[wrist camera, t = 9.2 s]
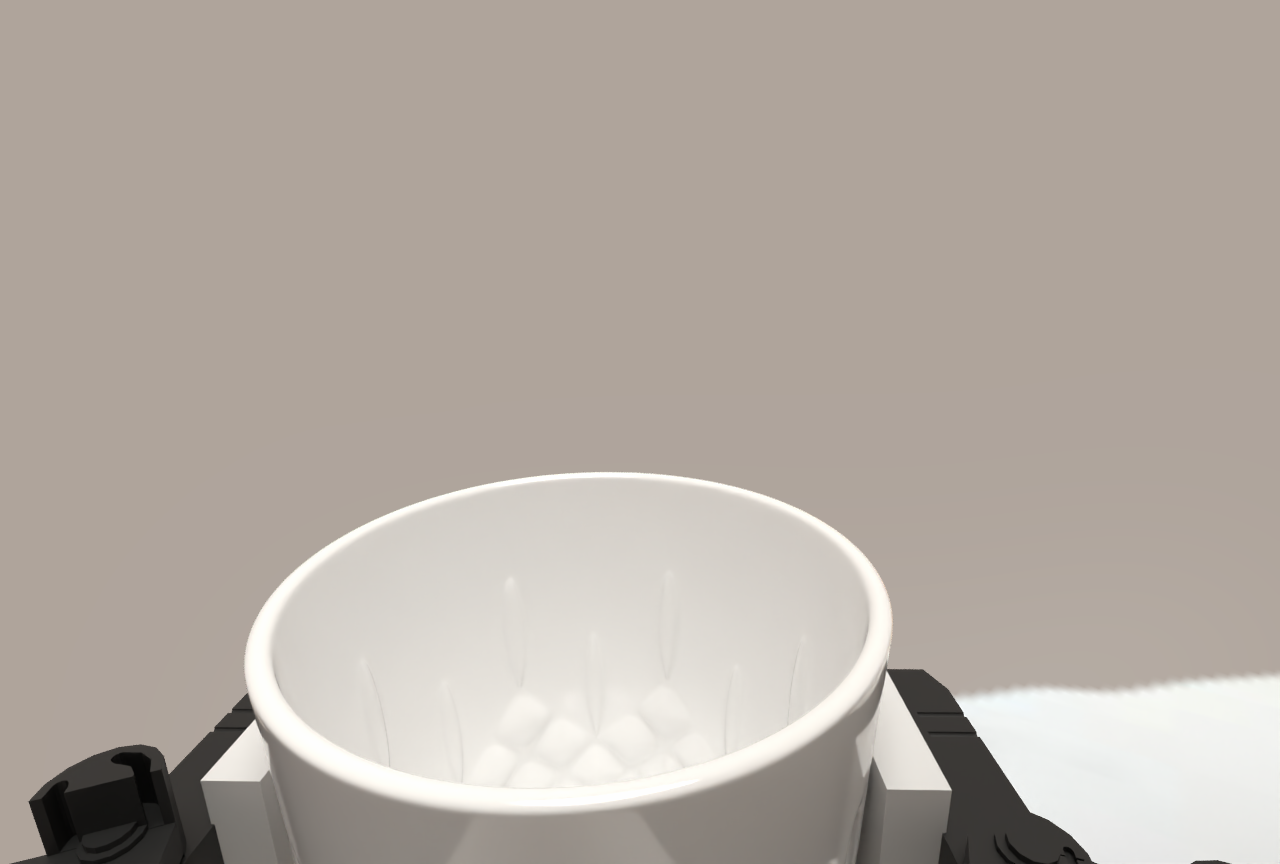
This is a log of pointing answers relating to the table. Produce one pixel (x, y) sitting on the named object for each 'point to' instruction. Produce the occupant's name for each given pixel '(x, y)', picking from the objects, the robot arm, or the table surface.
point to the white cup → (575, 680)
